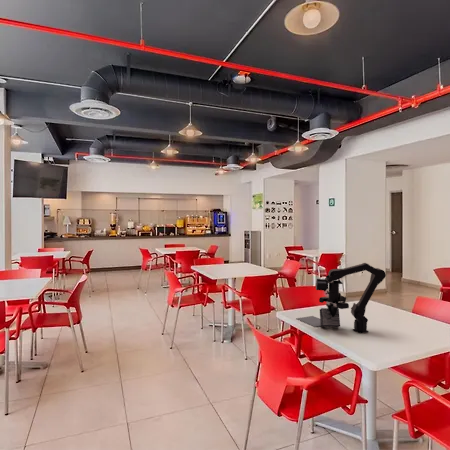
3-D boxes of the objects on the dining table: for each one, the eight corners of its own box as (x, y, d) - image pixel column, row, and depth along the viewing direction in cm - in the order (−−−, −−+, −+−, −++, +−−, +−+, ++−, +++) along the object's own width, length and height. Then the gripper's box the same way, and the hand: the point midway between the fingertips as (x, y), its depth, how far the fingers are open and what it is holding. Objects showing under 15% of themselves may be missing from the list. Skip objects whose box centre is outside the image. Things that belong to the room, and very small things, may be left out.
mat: (332, 324, 205) (332, 323, 205) (314, 327, 199) (314, 326, 199) (312, 316, 222) (312, 315, 222) (296, 319, 215) (296, 318, 215)
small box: (337, 327, 200) (336, 309, 204) (340, 326, 194) (339, 308, 198) (320, 326, 201) (319, 309, 205) (322, 326, 195) (321, 307, 198)
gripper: (356, 292, 190) (355, 319, 190) (332, 286, 207) (331, 311, 207) (341, 294, 185) (341, 322, 185) (318, 288, 202) (318, 313, 202)
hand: (333, 317), depth 195 cm, fingers closed
